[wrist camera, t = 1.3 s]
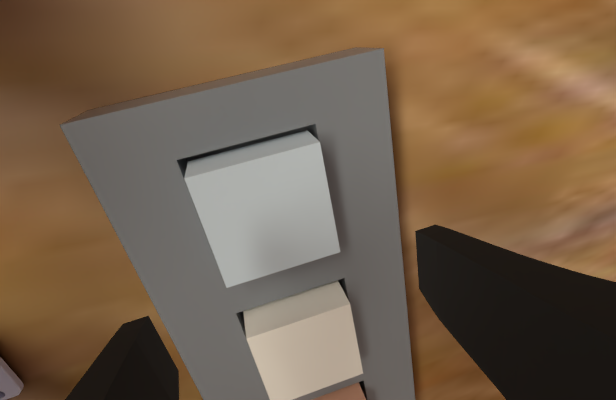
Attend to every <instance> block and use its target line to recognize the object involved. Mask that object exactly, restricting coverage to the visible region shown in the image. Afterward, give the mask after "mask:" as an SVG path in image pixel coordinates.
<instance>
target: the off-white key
mask: <svg viewBox="0 0 616 400" xmlns="http://www.w3.org/2000/svg"><path fill="white" fill-rule="evenodd" d="M243 313H244V322H245V331H246V339H247V342H248V344H249V347H250V350H251V352H252V355H253V357H254V360H255V363H256V365H257V368H258V370H259V373H260V375H261V378H262V381H263V383H264V386H265V388H266V391H267V393H268V396H269V399H270V400H293V399H295V398H298V397H301V396H303V395H306V394H309V393H312V392H314V391H317V390H320V389H322V388H325V387H328V386H331V385H333V384H336V383H339V382H341V381H344V380H347V379H350V378H352V377H355V376H358V375H360V374H363V370H362V364H361V359H360V354H359V348H358V343H357V338H356V332H355V327H354V322H353V316H352V311H351V306H350V302H349V301H348V299H347V297H346V295H345V293H344V291H343V289H342V287H341V285H340V283H339V282H338V280H337V281H333V282H330V283H327V284H324V285H321V286H318V287H315V288H312V289H309V290H306V291H303V292H300V293H297V294H294V295H291V296H288V297H285V298H281V299H278V300H275V301H272V302H269V303H266V304H263V305H260V306H257V307H254V308H251V309H248V310H245V311H243Z"/></svg>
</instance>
